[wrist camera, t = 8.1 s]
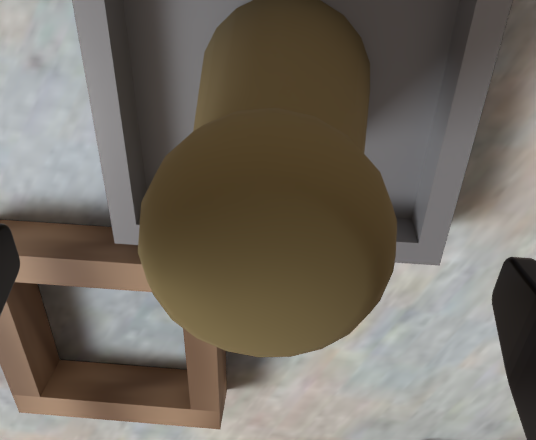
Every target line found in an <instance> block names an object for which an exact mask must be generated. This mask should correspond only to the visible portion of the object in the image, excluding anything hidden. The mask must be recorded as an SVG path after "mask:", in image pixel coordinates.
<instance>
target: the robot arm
mask: <svg viewBox="0 0 536 440" xmlns="http://www.w3.org/2000/svg"><path fill="white" fill-rule="evenodd" d="M19 269H20V258H19V254H18V251H17V248H16V245H15V242H14V238H13V235H12V232H11V230H10V228H9V227H8V226H7V225H5V224H2V223H0V315H1V313H2V311H3V308H4V306H5V304H6V301H7V299H8V297H9V294H10V292H11V289H12V287H13V285H14V282H15V280H16V278H17V275H18V273H19ZM492 306H493V311H494V316H495V321H496V326H497V331H498V336H499V341H500V346H501V351H502V356H503V361H504V366H505V370H506V375H507V379H508V383H509V386H510V389H511V393H512V396H513V399H514V402H515V405H516V408H517V411H518V414H519V417H520V420H521V423H522V426H523V429H524V432H525V435H526V438H527V440H536V261H535V260H534V259H531V258H519V257H510V258H508V259H506V260H505V262H504V264H503V266H502V269H501V271H500V274H499V277H498V279H497V282H496V285H495V287H494V290H493V294H492Z"/></svg>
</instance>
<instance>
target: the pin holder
mask: <svg viewBox="0 0 536 440" xmlns="http://www.w3.org/2000/svg"><path fill="white" fill-rule="evenodd" d="M0 223H2V224H5V225H7V226H8V227H9V228H10V230H11V232H12V235H13V238H14V242H15V245H16V248H17V251H18V254H19V258H20V269H19V273H18V275H17V278H16V280H15V282H14V285H13V287H12V289H11V292H10V294H9V297H8V299H7V301H6V304H5V306H4V308H3V311H2V313H1V315H0V365H1V367H2V370H3V372H4V375H5V377H6V380H7V382H8V385H9V387H10V390H11V393H12V395H13V398H14V400H15V403H16V405H17V408H18V410H19V412H21V413H33V414H45V415H57V416H69V417H81V418H93V419H104V420H116V421H128V422H140V423H152V424H164V425H176V426H187V427H199V428H211V429H220V427H221V421H222V416H223V410H224V404H225V398H226V392H227V379H226V351H225V350H223V349H220V348H218V347H216V346H213V345H211V344H209V343H206V342H204V341H202V340H199V339H197V338H196V337H194V336H193V335H192V334H190V333H189V332H188V331H186V330H185V329H184V328H183V332H184V342H185V353H186V364H187V370H182V369H170V368H157V367H144V366H132V365H119V364H106V363H94V362H81V361H68V360H60V359H59V355H58V352H57V348H56V345H55V342H54V338H53V335H52V332H51V328H50V325H49V322H48V318H47V315H46V312H45V308H44V305H43V301H42V298H41V295H40V291H39V288H38V285H37V284H48V285H62V286H76V287H90V288H104V289H118V290H132V291H146V292H152V290H151V288H150V286H149V284H148V282H147V279H146V276H145V273H144V270H143V267H142V264H141V260H140V257H139V254H138V245H130V244H116V243H115V242H114V236H113V231H112V227H104V226H88V225H73V224H58V223H43V222H28V221H13V220H0Z"/></svg>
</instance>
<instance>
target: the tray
mask: <svg viewBox="0 0 536 440" xmlns="http://www.w3.org/2000/svg"><path fill="white" fill-rule="evenodd" d="M251 1H253V0H72V3H73V8H74V14H75V20H76V25H77V31H78V37H79V42H80V48H81V54H82V60H83V65H84V71H85V77H86V82H87V88H88V94H89V99H90V105H91V111H92V117H93V122H94V128H95V134H96V139H97V145H98V151H99V156H100V162H101V168H102V174H103V179H104V185H105V191H106V196H107V202H108V208H109V213H110V219H111V225H112V231H113V236H114V242H115V243H116V244H130V245H138V241H139V227H140V213H141V202H142V200H143V198H144V196H145V194H146V192H147V190H148V188H149V186H150V184H151V182H152V180H153V178H154V176H155V174H156V172H157V170H158V168H159V167H160V165H161V163H162V161H163V159H164V158H165V156H166V155H167V154H168V153H169V152H171V151H172V150H173V149H174V148H175V147H176V146H177V145H178V144H180V143H181V142H182V141H183V140H184V139H185V138H186V137H187V136H189V135H190V134H191V133H192V132H193V129H194V122H195V114H196V107H197V100H198V93H199V86H200V79H201V72H202V65H203V58H204V52H205V50H206V48H207V46H208V44H209V42H210V40H211V38H212V36H213V34H214V32H215V30H216V28H217V27H218V26H219V25H220V24H221V23H222V22H223V21H224V20H225V19H226V18H227V17H228V16H229V15H230V14H231V13H232V12H233V11H234V10H235V9H236V8H238V7H240V6H242V5H244V4H246V3H249V2H251ZM321 1H322V2H324V3H326V4H327V5H329V6H330V7H332V8H333V9H335V10H336V11H338V12H340V13H341V14H343V15H344V16H345V17H346V19H347V20H348V21H349V23H350V24H351V25H352V26H353V28H354V29H355V30H356V31H357V33H358V34H359V35H360V37H361V38H362V41H363V44H364V47H365V50H366V53H367V56H368V59H369V62H370V96H369V107H368V118H367V129H366V141H365V152H364V154H365V155H366V156H367V158H368V159H369V160H370V161H371V162H372V163H373V164H374V166H375V167H376V168H377V169H378V170H379V171H380V173H381V176H382V178H383V181H384V184H385V186H386V189H387V192H388V194H389V197H390V200H391V202H392V205H393V209H394V212H395V216H396V219H397V237H396V257H395V262H397V263H412V264H426V265H440V262H441V258H442V255H443V251H444V247H445V244H446V240H447V236H448V233H449V229H450V226H451V222H452V218H453V215H454V211H455V208H456V204H457V200H458V197H459V193H460V189H461V186H462V182H463V179H464V175H465V171H466V168H467V164H468V161H469V157H470V153H471V150H472V146H473V143H474V139H475V135H476V132H477V128H478V124H479V121H480V117H481V114H482V110H483V106H484V103H485V99H486V96H487V92H488V88H489V85H490V81H491V77H492V74H493V70H494V67H495V63H496V59H497V56H498V52H499V49H500V45H501V41H502V38H503V34H504V30H505V27H506V23H507V20H508V16H509V12H510V9H511V5H512V2H513V0H321Z"/></svg>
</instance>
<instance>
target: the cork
mask: <svg viewBox="0 0 536 440" xmlns="http://www.w3.org/2000/svg"><path fill="white" fill-rule="evenodd" d="M369 96H370V62H369V59H368V56H367V53H366V50H365V47H364V44H363V41H362V38H361V37H360V35H359V34H358V33H357V31H356V30H355V29H354V28H353V26H352V25H351V24H350V23H349V21H348V20H347V19H346V17H345V16H344V15H343V14H341V13H340V12H338V11H336V10H335V9H333V8H332V7H330V6H329V5H327V4H326V3H324V2H322V1H321V0H253V1H251V2H249V3H246V4H244V5H242V6H240V7H238V8H236V9H235V10H234V11H233V12H232V13H231V14H230V15H229V16H228V17H227V18H226V19H225V20H224V21H223V22H222V23H221V24H220V25H219V26H218V27H217V28H216V30H215V32H214V34H213V36H212V38H211V40H210V42H209V44H208V46H207V48H206V50H205V52H204V58H203V65H202V72H201V79H200V86H199V93H198V100H197V107H196V114H195V122H194V129H193V132H192V133H191V134H190V135H189V136H187V137H186V138H185V139H184V140H183V141H182V142H181V143H180V144H178V145H177V146H176V147H175V148H174V149H173V150H172V151H171V152H169V153H168V154H167V155H166V156H165V158H164V159H163V161H162V163H161V165H160V167H159V168H158V170H157V172H156V174H155V176H154V178H153V180H152V182H151V184H150V186H149V188H148V190H147V192H146V194H145V196H144V198H143V200H142V202H141V213H140V227H139V241H138V254H139V257H140V260H141V264H142V267H143V270H144V273H145V276H146V279H147V282H148V284H149V286H150V288H151V290H152V292H153V295H154V296H155V298H156V299H157V300H158V302H159V303H160V304H161V306H162V307H163V308H164V310H165V311H166V312H167V314H168V315H169V316H170V318H171V319H172V320H173V321H174V322H176V323H177V324H178V325H180V326H181V327H182V328H184V329H185V330H186V331H188V332H189V333H190V334H192V335H193V336H194V337H196V338H197V339H199V340H202V341H204V342H206V343H209V344H211V345H213V346H216V347H218V348H220V349H223V350H225V351H228V352H234V353H239V354H244V355H249V356H254V357H291V356H295V355H299V354H303V353H307V352H311V351H315V350H319V349H322V348H324V347H326V346H328V345H330V344H332V343H334V342H335V341H337V340H339V339H341V338H343V337H345V336H347V335H348V334H350V333H351V332H352V331H353V330H354V329H355V328H356V327H357V326H358V324H359V323H360V322H361V321H362V320H363V319H364V318H365V317H366V316H367V315H368V314H369V313H370V312H371V311H372V310H373V308H374V307H375V306H376V305H377V304H378V302H379V301H380V299H381V297H382V295H383V293H384V291H385V288H386V286H387V284H388V282H389V280H390V277H391V275H392V273H393V269H394V263H395V257H396V237H397V219H396V216H395V212H394V209H393V205H392V202H391V200H390V197H389V194H388V192H387V189H386V186H385V184H384V181H383V178H382V176H381V173H380V171H379V170H378V169H377V168H376V167H375V166H374V164H373V163H372V162H371V161H370V160H369V159H368V158H367V156H366V155H365V154H364V152H365V141H366V129H367V118H368V107H369Z"/></svg>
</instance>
